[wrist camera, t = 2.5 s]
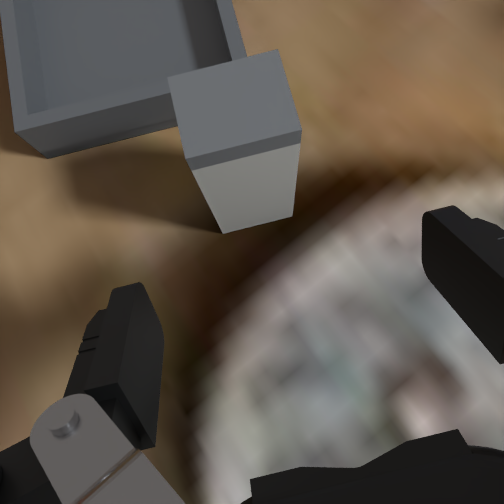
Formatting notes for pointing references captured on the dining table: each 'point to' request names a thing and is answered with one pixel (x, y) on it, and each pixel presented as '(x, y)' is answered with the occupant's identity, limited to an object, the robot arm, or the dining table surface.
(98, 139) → the tray
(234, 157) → the grey block
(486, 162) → the dining table surface
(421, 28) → the dining table surface
